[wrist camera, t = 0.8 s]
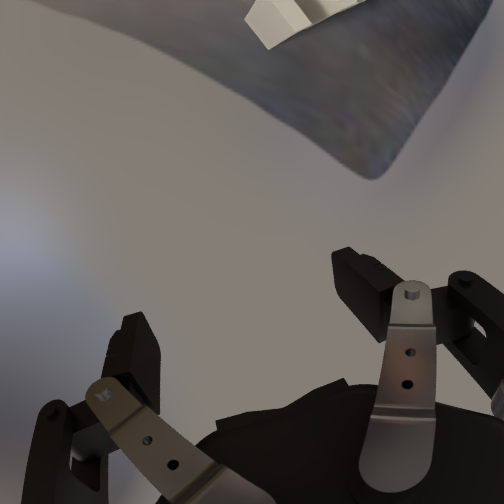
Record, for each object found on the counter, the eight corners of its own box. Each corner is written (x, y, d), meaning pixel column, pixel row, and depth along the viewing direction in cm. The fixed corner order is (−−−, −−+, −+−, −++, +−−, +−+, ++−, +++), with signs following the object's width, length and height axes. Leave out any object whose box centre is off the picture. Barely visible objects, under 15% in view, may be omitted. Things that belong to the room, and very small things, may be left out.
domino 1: (244, 19, 26) (262, -10, 17) (256, 12, 26) (279, -18, 17) (268, 50, 28) (295, 32, 19) (280, 43, 28) (312, 24, 19)
